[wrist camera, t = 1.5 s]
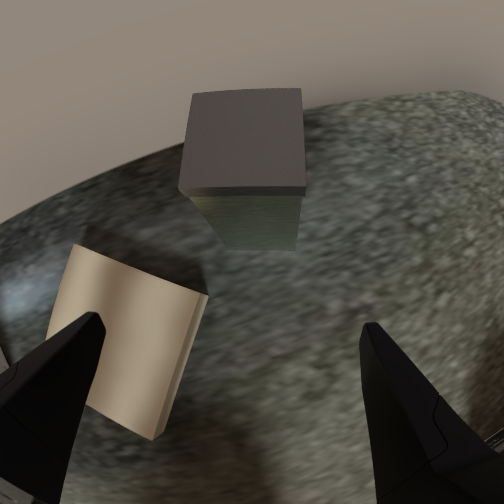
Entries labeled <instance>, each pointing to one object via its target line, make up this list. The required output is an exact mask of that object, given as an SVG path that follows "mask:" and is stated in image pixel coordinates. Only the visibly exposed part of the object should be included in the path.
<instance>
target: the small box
mask: <svg viewBox="0 0 504 504" xmlns="http://www.w3.org/2000/svg"><path fill="white" fill-rule="evenodd" d="M8 368H9V366H8V364H7V361H6V359H5V356H4V354H3V352H2V349H1V347H0V374H1V373H2V372H4V371H5V370H6V369H8Z"/></svg>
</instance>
